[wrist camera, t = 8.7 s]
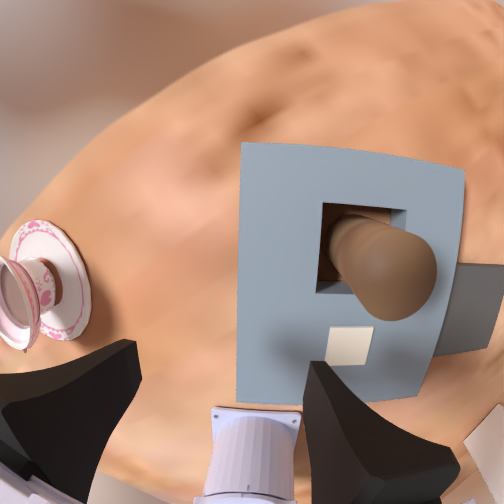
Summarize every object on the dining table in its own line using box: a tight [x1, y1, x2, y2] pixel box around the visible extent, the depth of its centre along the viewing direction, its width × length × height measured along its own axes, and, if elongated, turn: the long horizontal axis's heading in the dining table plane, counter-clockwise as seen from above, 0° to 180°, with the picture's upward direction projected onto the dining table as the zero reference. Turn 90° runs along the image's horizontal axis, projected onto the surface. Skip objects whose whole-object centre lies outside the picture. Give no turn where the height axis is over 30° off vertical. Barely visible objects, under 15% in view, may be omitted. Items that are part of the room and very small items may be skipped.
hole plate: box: [236, 142, 465, 405], centre depth 18 cm, size 18×15×3 cm
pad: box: [432, 263, 504, 357], centre depth 19 cm, size 8×8×1 cm
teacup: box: [0, 219, 92, 353], centre depth 19 cm, size 12×12×6 cm
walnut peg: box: [325, 214, 437, 321], centre depth 15 cm, size 4×4×8 cm
